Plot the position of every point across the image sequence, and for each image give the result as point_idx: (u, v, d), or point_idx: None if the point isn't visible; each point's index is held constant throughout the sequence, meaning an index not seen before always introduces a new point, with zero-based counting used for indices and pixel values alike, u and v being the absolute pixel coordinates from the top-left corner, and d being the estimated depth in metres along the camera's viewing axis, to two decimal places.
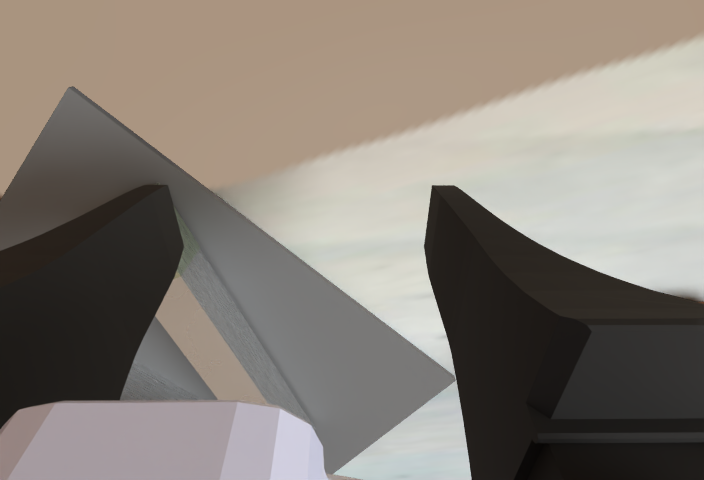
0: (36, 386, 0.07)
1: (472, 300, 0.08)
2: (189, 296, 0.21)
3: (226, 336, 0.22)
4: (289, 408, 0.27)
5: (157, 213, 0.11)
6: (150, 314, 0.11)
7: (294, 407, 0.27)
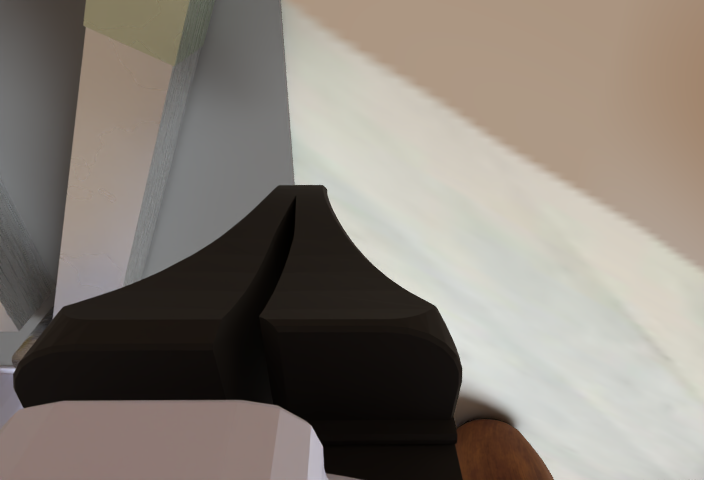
0: (258, 385, 0.07)
1: None
2: (157, 97, 0.13)
3: (149, 178, 0.15)
4: None
5: None
6: None
7: None
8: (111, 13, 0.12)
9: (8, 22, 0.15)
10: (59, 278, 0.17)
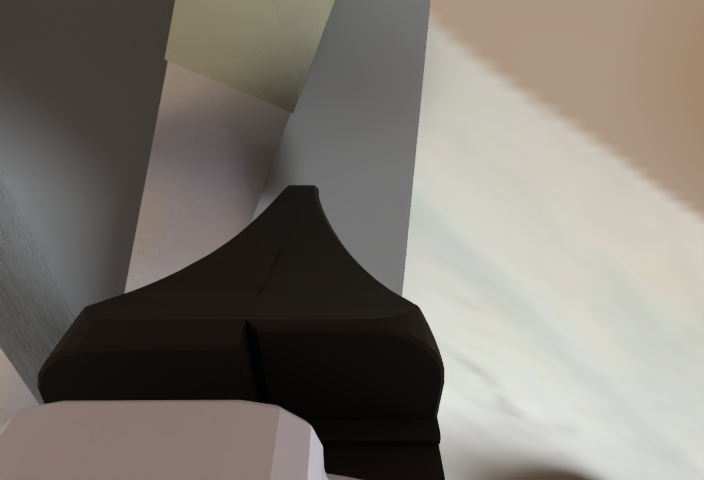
0: None
1: None
2: (263, 156, 0.09)
3: None
4: None
5: None
6: None
7: None
8: (208, 40, 0.08)
9: (58, 54, 0.11)
10: None
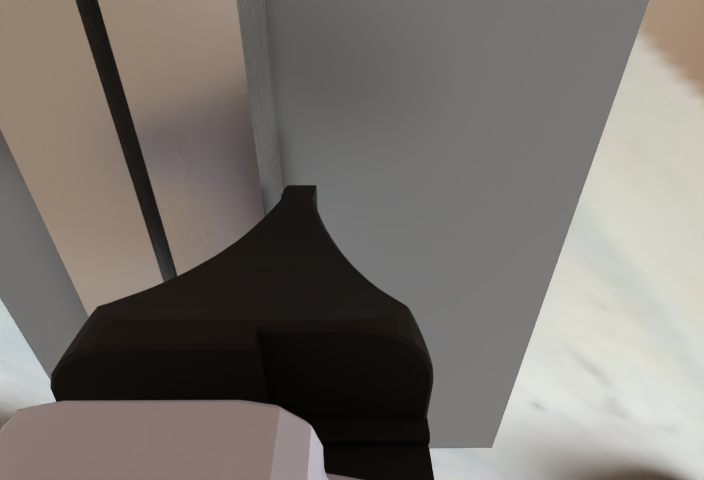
0: None
1: None
2: (230, 48, 0.08)
3: (264, 188, 0.10)
4: None
5: None
6: None
7: None
8: None
9: (271, 60, 0.11)
10: None
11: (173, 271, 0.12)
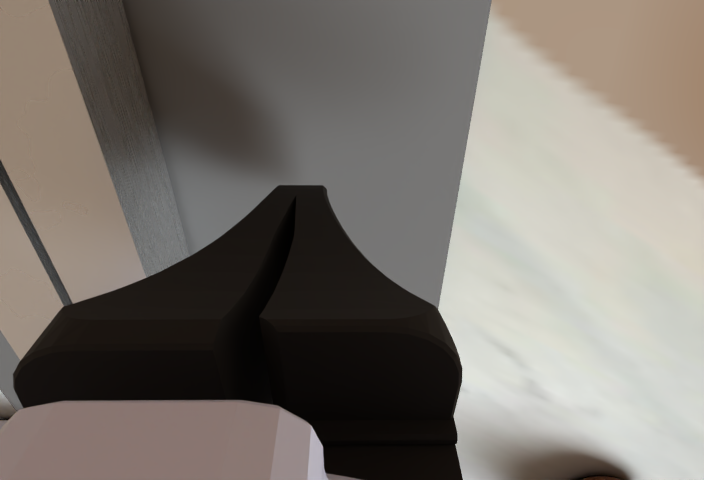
0: (258, 385, 0.07)
1: None
2: (45, 24, 0.08)
3: (113, 162, 0.10)
4: None
5: None
6: None
7: None
8: None
9: (137, 40, 0.11)
10: None
11: None
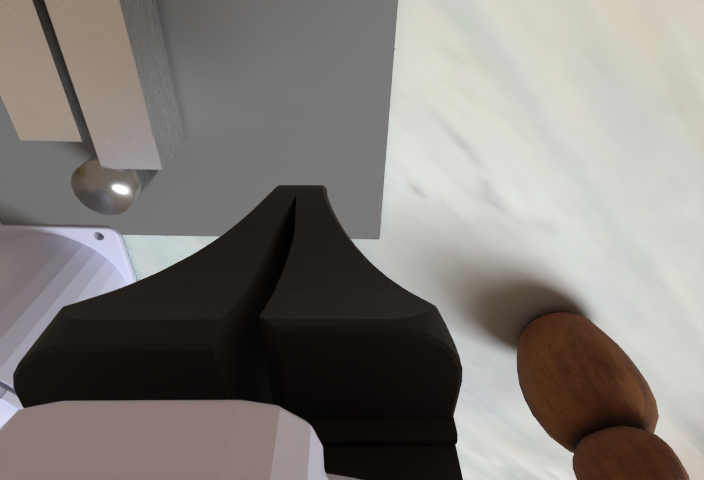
0: (258, 385, 0.07)
1: None
2: None
3: None
4: (155, 65, 0.16)
5: None
6: None
7: (164, 76, 0.17)
8: None
9: None
10: (57, 30, 0.14)
11: None
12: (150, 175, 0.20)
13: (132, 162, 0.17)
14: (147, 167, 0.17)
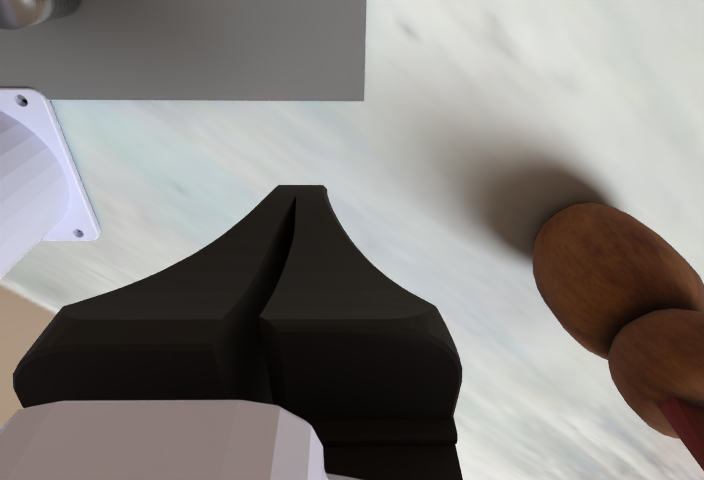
0: (258, 385, 0.07)
1: None
2: None
3: None
4: None
5: None
6: None
7: None
8: None
9: None
10: None
11: None
12: None
13: None
14: None
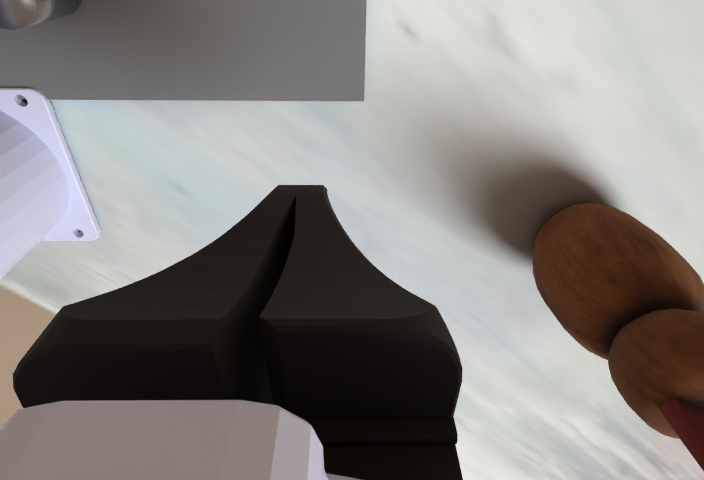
0: (258, 385, 0.07)
1: None
2: None
3: None
4: None
5: None
6: None
7: None
8: None
9: None
10: None
11: None
12: None
13: None
14: None
